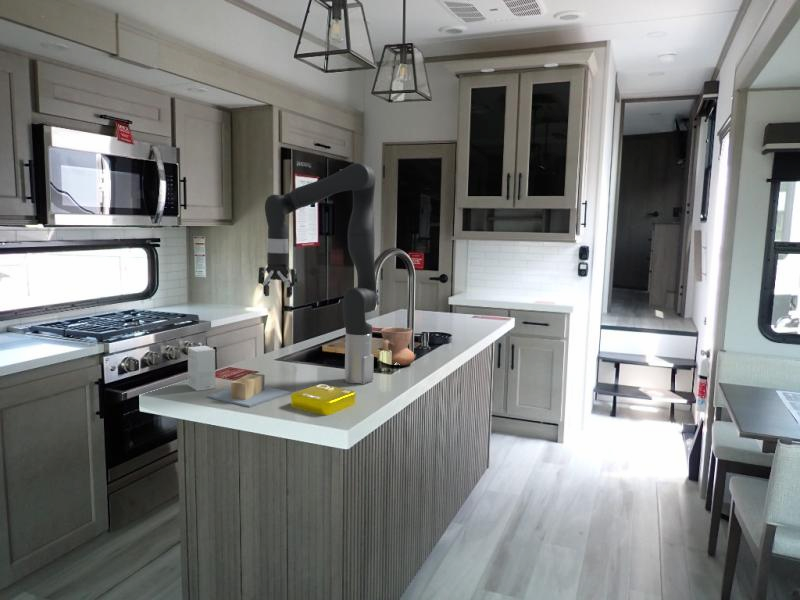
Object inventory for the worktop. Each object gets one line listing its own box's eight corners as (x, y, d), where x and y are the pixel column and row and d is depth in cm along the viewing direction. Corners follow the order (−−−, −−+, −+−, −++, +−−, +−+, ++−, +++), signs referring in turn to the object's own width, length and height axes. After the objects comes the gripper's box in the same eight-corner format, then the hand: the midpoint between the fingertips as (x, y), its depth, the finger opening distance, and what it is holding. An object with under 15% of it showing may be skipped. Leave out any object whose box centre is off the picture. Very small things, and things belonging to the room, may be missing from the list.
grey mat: (289, 393, 191) (289, 391, 191) (249, 407, 175) (249, 405, 175) (248, 384, 199) (248, 382, 199) (206, 397, 184) (206, 395, 184)
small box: (215, 388, 194) (215, 349, 192) (196, 391, 190) (196, 351, 188) (206, 382, 200) (206, 345, 198) (187, 385, 196) (187, 347, 194)
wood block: (231, 382, 181) (250, 373, 192) (231, 398, 182) (250, 388, 193) (245, 383, 180) (264, 374, 191) (245, 399, 180) (264, 389, 192)
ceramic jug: (393, 357, 247) (393, 324, 245) (423, 362, 239) (423, 328, 237) (367, 366, 232) (367, 330, 230) (398, 371, 224) (398, 335, 223)
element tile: (287, 407, 178) (288, 392, 177) (320, 396, 190) (320, 381, 190) (326, 417, 170) (327, 401, 169) (357, 405, 182) (358, 390, 182)
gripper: (300, 252, 213) (300, 296, 215) (264, 250, 216) (264, 294, 218) (291, 252, 206) (291, 299, 208) (254, 251, 209) (254, 296, 211)
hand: (277, 296), depth 213 cm, fingers open, 8 cm apart
